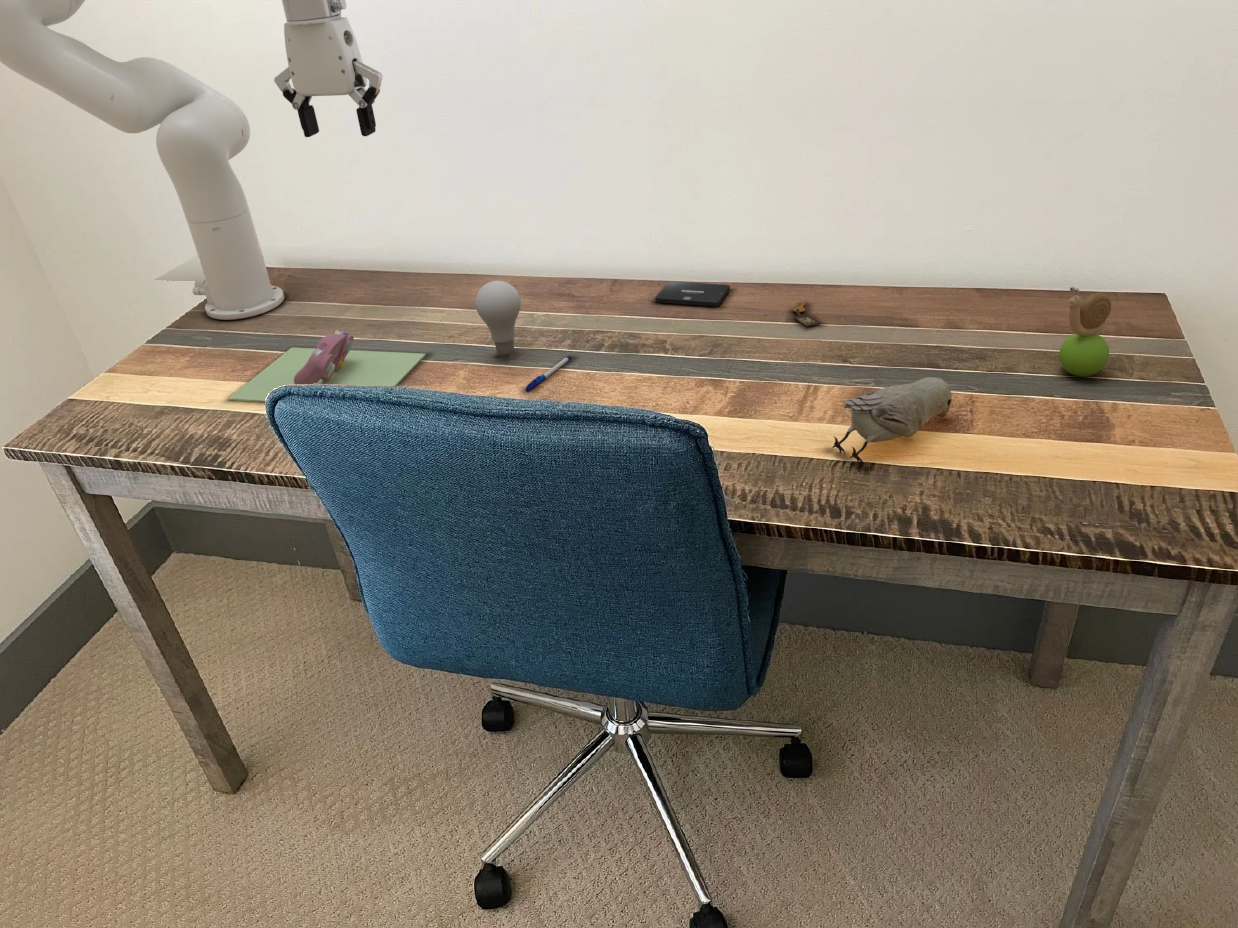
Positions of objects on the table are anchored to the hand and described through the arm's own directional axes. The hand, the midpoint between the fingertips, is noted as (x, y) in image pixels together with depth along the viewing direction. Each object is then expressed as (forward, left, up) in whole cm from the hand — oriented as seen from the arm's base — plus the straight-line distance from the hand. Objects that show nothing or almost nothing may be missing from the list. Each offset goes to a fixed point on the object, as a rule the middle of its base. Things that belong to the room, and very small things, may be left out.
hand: (340, 134), depth 145 cm
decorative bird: (+83, -35, -26) cm, 94 cm away
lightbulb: (+30, -19, -26) cm, 44 cm away
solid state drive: (+52, +4, -26) cm, 58 cm away
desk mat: (+7, -28, -26) cm, 39 cm away
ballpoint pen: (+38, -24, -27) cm, 52 cm away
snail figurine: (+104, -17, -26) cm, 109 cm away
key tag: (+70, -2, -26) cm, 75 cm away
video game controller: (+7, -28, -26) cm, 39 cm away
